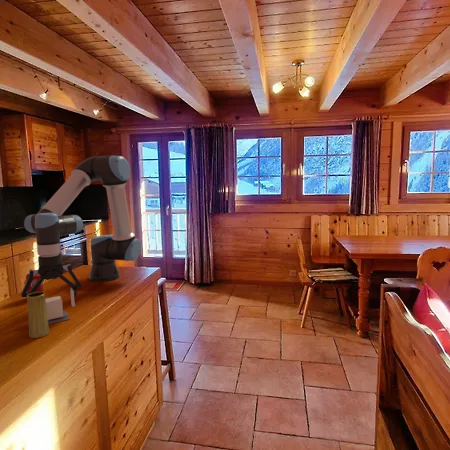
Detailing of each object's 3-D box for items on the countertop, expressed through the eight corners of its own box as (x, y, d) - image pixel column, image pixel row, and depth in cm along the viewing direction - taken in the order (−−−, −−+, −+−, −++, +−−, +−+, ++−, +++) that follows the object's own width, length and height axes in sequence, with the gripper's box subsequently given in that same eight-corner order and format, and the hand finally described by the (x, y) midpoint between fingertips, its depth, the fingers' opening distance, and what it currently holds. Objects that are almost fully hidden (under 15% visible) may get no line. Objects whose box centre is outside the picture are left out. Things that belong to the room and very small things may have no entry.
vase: (34, 330, 111) (31, 291, 109) (52, 329, 112) (49, 290, 110) (25, 338, 105) (21, 297, 103) (44, 338, 106) (40, 297, 104)
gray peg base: (65, 311, 127) (64, 294, 126) (69, 319, 120) (68, 301, 119) (40, 317, 122) (38, 299, 121) (42, 325, 115) (40, 307, 114)
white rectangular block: (61, 311, 124) (59, 295, 123) (63, 316, 120) (61, 299, 119) (46, 315, 121) (44, 298, 120) (47, 320, 117) (46, 303, 116)
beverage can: (36, 300, 138) (34, 274, 137) (24, 299, 140) (21, 273, 138) (47, 295, 144) (45, 270, 143) (35, 294, 146) (33, 269, 144)
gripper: (83, 248, 127) (86, 299, 130) (9, 257, 113) (14, 313, 116) (87, 252, 121) (90, 305, 124) (9, 261, 107) (15, 321, 110)
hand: (54, 309), depth 120 cm, fingers open, 13 cm apart
